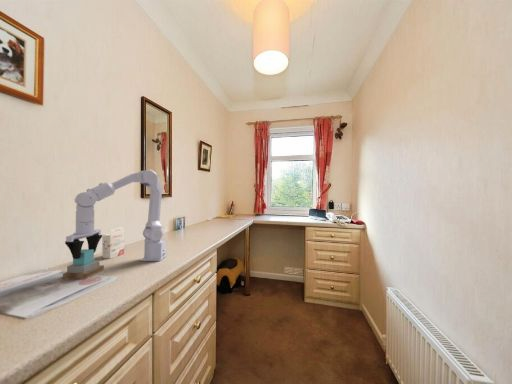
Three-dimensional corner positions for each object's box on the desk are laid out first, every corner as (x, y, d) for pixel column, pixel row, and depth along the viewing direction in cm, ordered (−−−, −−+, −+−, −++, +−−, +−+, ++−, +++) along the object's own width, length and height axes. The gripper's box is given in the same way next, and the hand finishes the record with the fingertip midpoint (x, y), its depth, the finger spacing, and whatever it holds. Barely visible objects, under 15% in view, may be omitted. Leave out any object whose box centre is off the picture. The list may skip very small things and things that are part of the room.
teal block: (93, 261, 83) (93, 249, 83) (84, 265, 79) (84, 252, 79) (82, 261, 83) (83, 249, 84) (73, 265, 79) (73, 252, 79)
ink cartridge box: (116, 253, 109) (116, 225, 109) (124, 253, 108) (124, 226, 108) (101, 258, 101) (101, 228, 101) (109, 258, 100) (110, 229, 100)
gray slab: (99, 266, 84) (99, 260, 84) (83, 273, 77) (83, 267, 77) (83, 266, 85) (84, 260, 85) (67, 272, 78) (67, 266, 78)
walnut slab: (103, 271, 86) (103, 265, 86) (86, 280, 77) (86, 273, 77) (82, 271, 86) (82, 265, 86) (62, 280, 77) (62, 273, 77)
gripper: (89, 219, 89) (89, 250, 89) (57, 224, 74) (57, 261, 74) (105, 219, 89) (105, 250, 89) (77, 224, 74) (76, 261, 74)
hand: (84, 255), depth 81 cm, fingers open, 7 cm apart
